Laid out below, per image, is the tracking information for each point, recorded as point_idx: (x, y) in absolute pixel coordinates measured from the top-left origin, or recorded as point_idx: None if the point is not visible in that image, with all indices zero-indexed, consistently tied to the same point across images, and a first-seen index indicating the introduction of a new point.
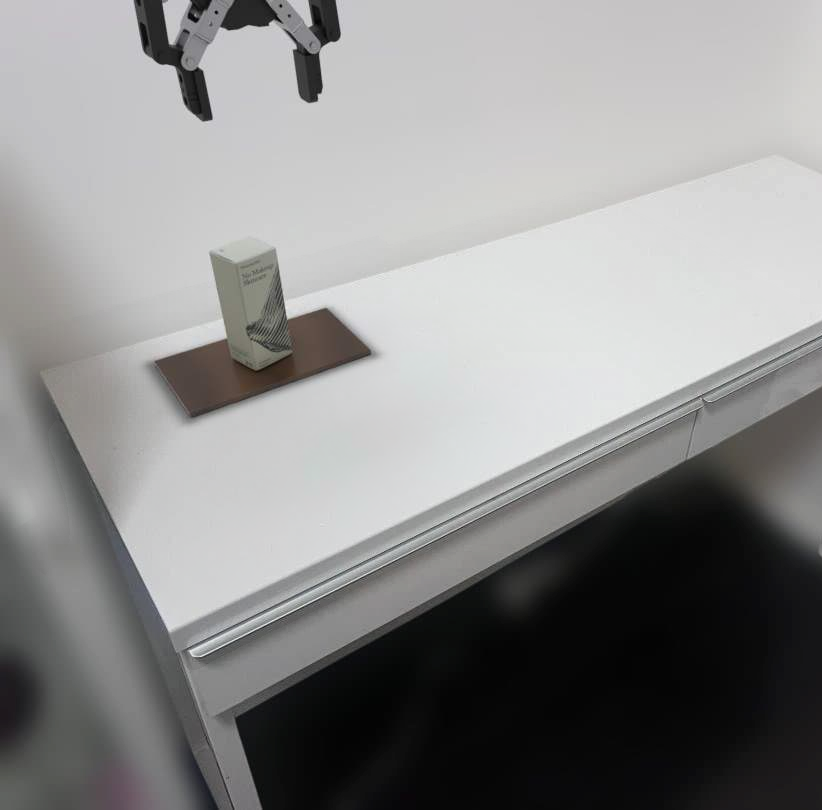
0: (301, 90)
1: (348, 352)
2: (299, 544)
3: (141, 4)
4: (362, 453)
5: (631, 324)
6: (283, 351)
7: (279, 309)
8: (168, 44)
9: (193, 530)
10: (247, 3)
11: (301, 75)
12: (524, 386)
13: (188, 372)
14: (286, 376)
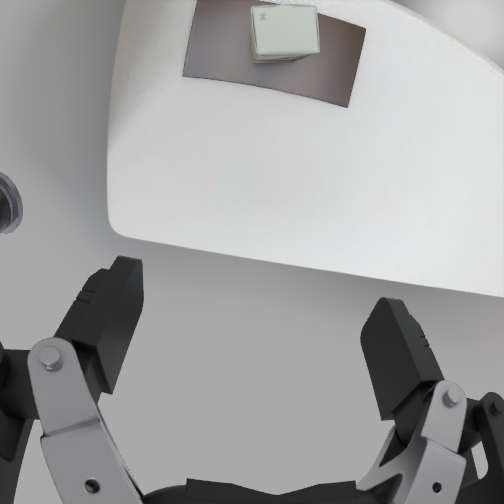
0: (381, 320)
1: (331, 96)
2: (177, 232)
3: None
4: (254, 197)
5: (471, 232)
6: (286, 61)
7: (296, 58)
8: (28, 433)
9: (135, 183)
10: None
11: (386, 356)
12: (382, 224)
13: (210, 25)
14: (269, 84)
